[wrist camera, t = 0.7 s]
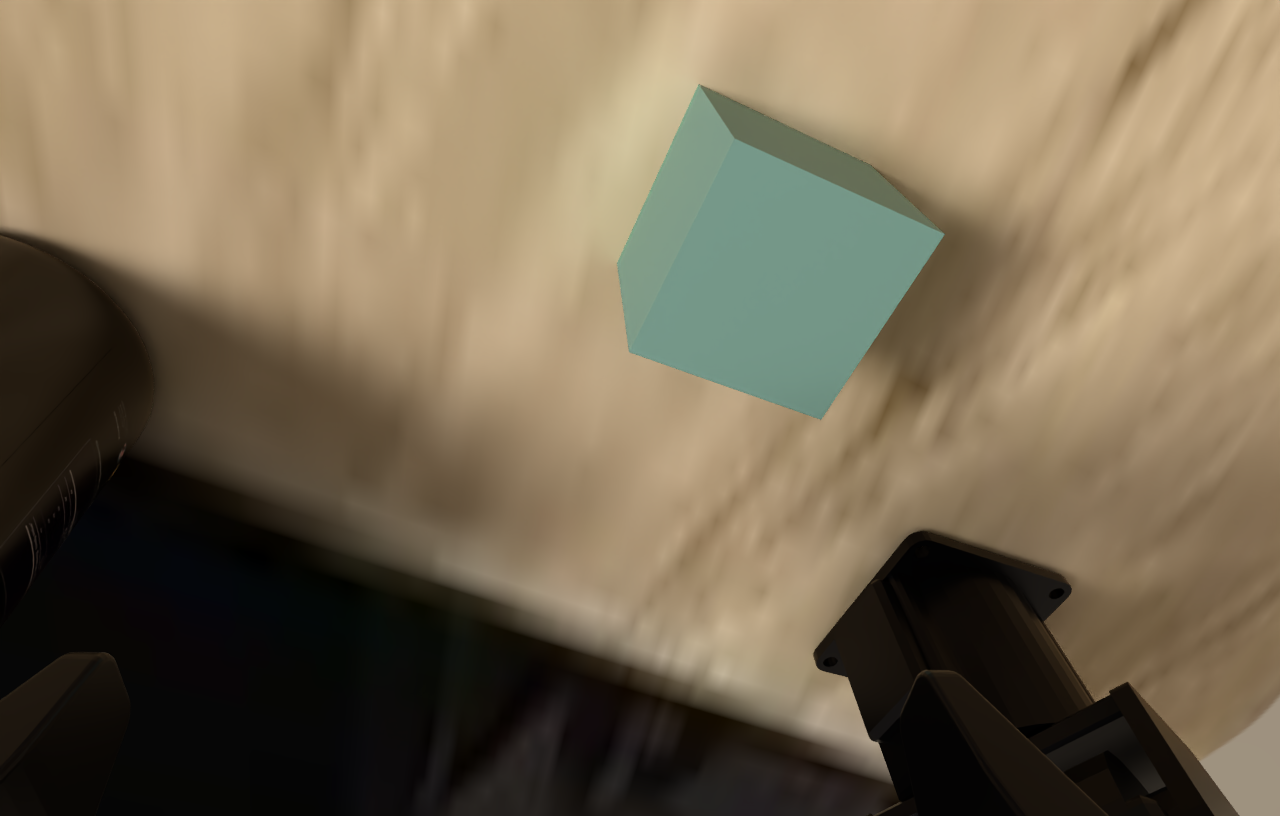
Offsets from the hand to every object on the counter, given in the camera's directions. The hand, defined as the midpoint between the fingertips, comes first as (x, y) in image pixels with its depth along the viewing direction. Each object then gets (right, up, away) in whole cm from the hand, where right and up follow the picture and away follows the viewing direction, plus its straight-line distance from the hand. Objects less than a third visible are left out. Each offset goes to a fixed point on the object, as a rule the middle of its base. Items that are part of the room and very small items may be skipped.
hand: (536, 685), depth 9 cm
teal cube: (+4, +8, +10) cm, 13 cm away
